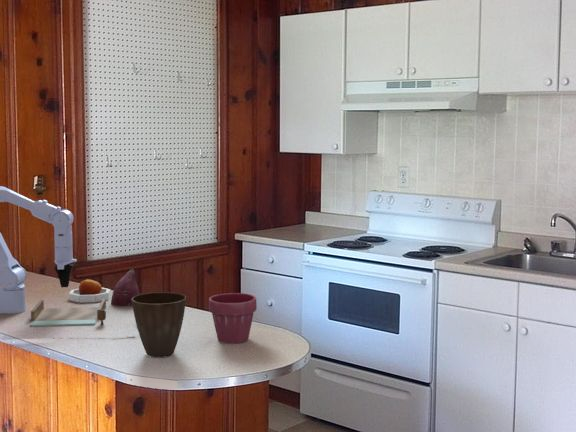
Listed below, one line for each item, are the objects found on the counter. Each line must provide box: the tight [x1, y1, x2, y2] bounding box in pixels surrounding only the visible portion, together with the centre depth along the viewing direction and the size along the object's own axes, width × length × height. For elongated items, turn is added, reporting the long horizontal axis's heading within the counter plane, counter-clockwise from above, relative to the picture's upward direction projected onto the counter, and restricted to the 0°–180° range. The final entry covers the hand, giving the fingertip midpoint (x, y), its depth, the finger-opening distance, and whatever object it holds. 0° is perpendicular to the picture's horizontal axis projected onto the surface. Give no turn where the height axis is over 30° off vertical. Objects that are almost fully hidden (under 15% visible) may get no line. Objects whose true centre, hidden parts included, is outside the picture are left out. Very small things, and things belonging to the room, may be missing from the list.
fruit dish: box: [68, 287, 111, 304], centre depth 287 cm, size 14×14×2 cm
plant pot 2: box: [208, 292, 258, 344], centre depth 233 cm, size 14×14×13 cm
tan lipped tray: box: [30, 299, 107, 322], centre depth 259 cm, size 22×16×4 cm
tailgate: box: [29, 319, 98, 328], centre depth 248 cm, size 20×1×7 cm
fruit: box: [78, 278, 103, 295], centre depth 287 cm, size 8×8×8 cm
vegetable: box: [110, 268, 141, 307], centre depth 275 cm, size 10×10×15 cm
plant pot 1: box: [132, 291, 187, 358], centre depth 219 cm, size 15×15×16 cm
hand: (64, 286), depth 262 cm, fingers closed
